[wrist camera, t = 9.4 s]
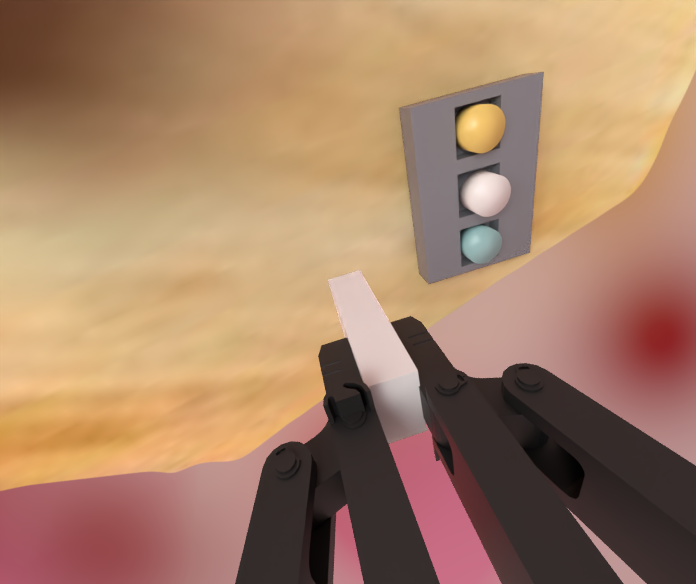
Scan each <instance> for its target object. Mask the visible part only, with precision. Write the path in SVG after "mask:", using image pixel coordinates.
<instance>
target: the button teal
mask: <svg viewBox="0 0 696 584" xmlns="http://www.w3.org/2000/svg"><path fill="white" fill-rule="evenodd" d="M460 245H461V253H462V254H463V255H465V256H466V257H467V258H469V259H470V260H471V261H473V262H474V263H477V264H484V263H487V262H489V261H491V260H492V259H493V258H495V257H496V255H497V254H498V253H499V251H500V249H501V246H502V237H501V235H500V233H499V232H498V231H496V230H494V229H492V228H490V227H489V226H487V225H485V224H483V223H482V224H479V225H476V226H472V227H469V228H466V229H463V230H461V232H460Z"/></svg>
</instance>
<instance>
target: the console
mask: <svg viewBox="0 0 696 584" xmlns="http://www.w3.org/2000/svg"><path fill="white" fill-rule="evenodd" d="M543 73H544V72H539V73H530V74H523V75H519V76H515V77H512V78H508V79H504V80H500V81H497V82H493V83H489V84H486V85H482V86H478V87H474V88H471V89H467V90H463V91H460V92H456V93H452V94H448V95H445V96H441V97H437V98H434V99H430V100H426V101H422V102H419V103H415V104H411V105H408V106H404V107H400V108H399V110H400V119H401V127H402V135H403V143H404V151H405V160H406V168H407V176H408V184H409V192H410V201H411V209H412V217H413V225H414V234H415V242H416V250H417V258H418V266H419V274H420V275H421V276H422V277H423V278H424V279H425V280H426V282H427V283H428V284H431V283H434V282H437V281H440V280H443V279H447V278H450V277H453V276H456V275H459V274H463V273H466V272H469V271H472V270H475V269H479V268H482V267H485V266H488V265H491V264H495V263H498V262H501V261H504V260H507V259H511V258H514V257H517V256H520V255H523V254H527V253H530V244H531V231H532V218H533V205H534V191H535V178H536V165H537V152H538V139H539V126H540V113H541V100H542V87H543ZM471 104H493V105H496V106H498V107H499V108H500V109H501V110H502V112H503V113H504V116H505V130H504V134H503V136H502V138H501V140H500V142H499V143H498V144H497V145H496V146H495V147H494V148H493V149H492V150H490V151H488V152H486V153H475V152H470V151H466V150H462V149H459V148H458V147H457V146H456V133H455V116H456V115H457V113H458V112H459V111H460V110H461V109H462V108H464V107H465V106H467V105H471ZM479 170H485V171H488V172H492V173H495V174H498V175H502V176H504V177H505V178H507V179H508V181H509V183H510V186H511V194H510V198H509V201H508V203H507V204H506V206H505V207H504V208H503V209H502V210H501V211H500V212H499V213H497V214H496V215H493V216H490V217H483V216H480V215H478V214H476V213H475V212H473V211H471V210H469V209H467V208H465V207H464V206H463V205H462V203H461V201H460V189H461V186H462V184H463V182H464V180H465V179H466V178H467V177H468V176H469V175H470V174H472V173H474V172H476V171H479ZM482 223H483V224H485V225H487V226H489V227H490V228H492V229H494V230H496V231H498V232H499V233H500V235H501V237H502V246H501V249H500V251H499V253H498V254H497V255H496V257H495V258H493V259H492V260H491V261H489V262H487V263H484V264H477V263H474V262H473V261H471V260H470V259H469V258H467V257H466V256H465V255H463V254H462V253H461V245H460V232H461V230H463V229H466V228H469V227H472V226H476V225H479V224H482Z"/></svg>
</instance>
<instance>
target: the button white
mask: <svg viewBox="0 0 696 584" xmlns="http://www.w3.org/2000/svg"><path fill="white" fill-rule="evenodd" d="M510 194H511V186H510V183H509V181H508V179H507V178H505V177H504V176H502V175H498V174H495V173H492V172H488V171H485V170H479V171H476V172H474V173H472V174H470V175H469V176H468V177H467V178H466V179H465V180H464V182H463V184H462V186H461V189H460V201H461V203H462V205H463V206H464V207H465V208H467V209H469V210H471V211H473V212H475V213H476V214H478V215H480V216H483V217H490V216H493V215H496V214H497V213H499V212H500V211H501V210H502V209H503V208H504V207H505V206H506V204H507V203H508V201H509V198H510Z"/></svg>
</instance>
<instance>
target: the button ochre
mask: <svg viewBox="0 0 696 584" xmlns="http://www.w3.org/2000/svg"><path fill="white" fill-rule="evenodd" d="M504 130H505V116H504V113H503V112H502V110H501V109H500V108H499V107H498V106H496V105H493V104H471V105H467V106H465V107H464V108H462V109H461V110H460V111H459V112H458V113H457V115H456V116H455V133H456V146H457V147H458V148H459V149H462V150H466V151H470V152H475V153H486V152H488V151H490V150H492V149H493V148H494V147H495V146H496V145H497V144H498V143H499V142H500V140H501V138H502V136H503V134H504Z"/></svg>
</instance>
